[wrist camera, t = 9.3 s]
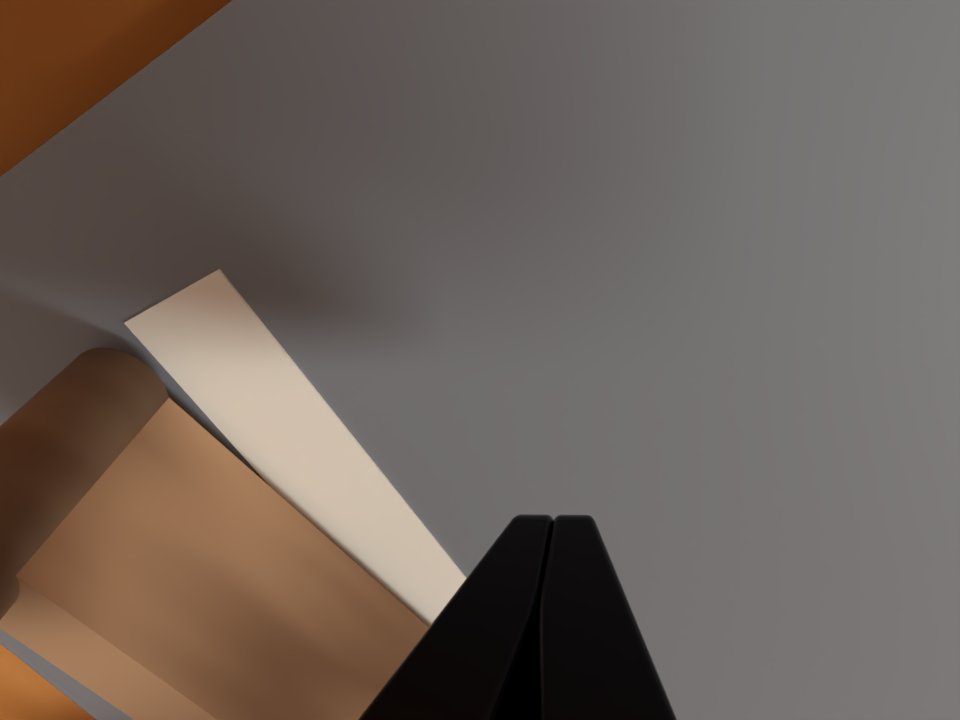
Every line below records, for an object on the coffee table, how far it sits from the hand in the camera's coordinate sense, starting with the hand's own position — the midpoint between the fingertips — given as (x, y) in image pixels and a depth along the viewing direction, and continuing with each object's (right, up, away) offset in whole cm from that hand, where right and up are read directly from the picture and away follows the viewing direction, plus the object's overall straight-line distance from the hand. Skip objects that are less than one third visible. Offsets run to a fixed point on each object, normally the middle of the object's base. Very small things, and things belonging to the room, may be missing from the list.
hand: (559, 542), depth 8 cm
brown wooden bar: (-3, -2, +5) cm, 6 cm away
